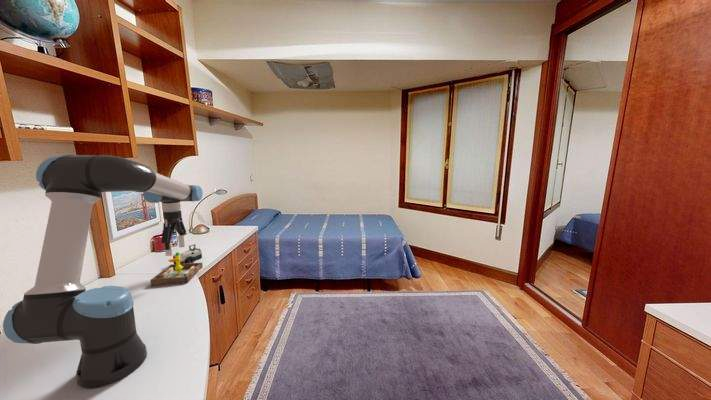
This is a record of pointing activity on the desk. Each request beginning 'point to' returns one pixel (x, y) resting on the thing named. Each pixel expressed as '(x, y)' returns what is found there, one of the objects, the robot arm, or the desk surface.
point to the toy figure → (177, 263)
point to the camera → (190, 255)
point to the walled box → (169, 275)
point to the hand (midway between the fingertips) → (176, 251)
